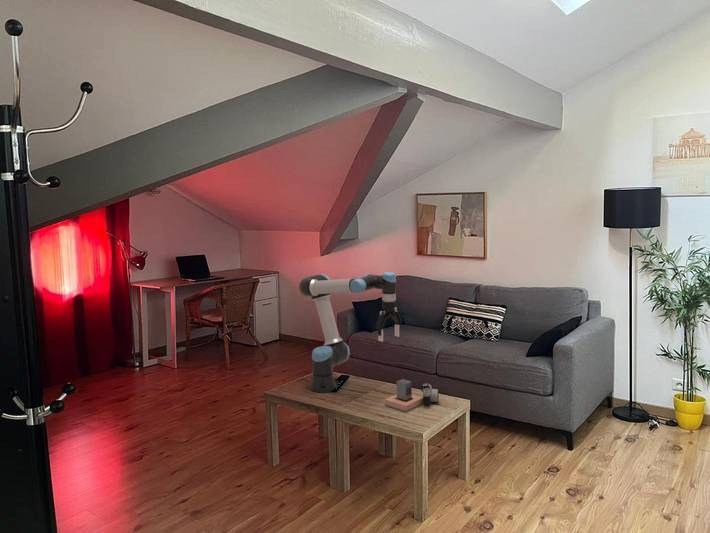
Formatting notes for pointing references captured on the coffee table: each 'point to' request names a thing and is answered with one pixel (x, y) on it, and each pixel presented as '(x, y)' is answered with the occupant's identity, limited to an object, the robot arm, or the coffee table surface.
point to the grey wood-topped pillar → (404, 390)
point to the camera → (429, 395)
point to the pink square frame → (403, 403)
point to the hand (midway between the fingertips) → (388, 338)
